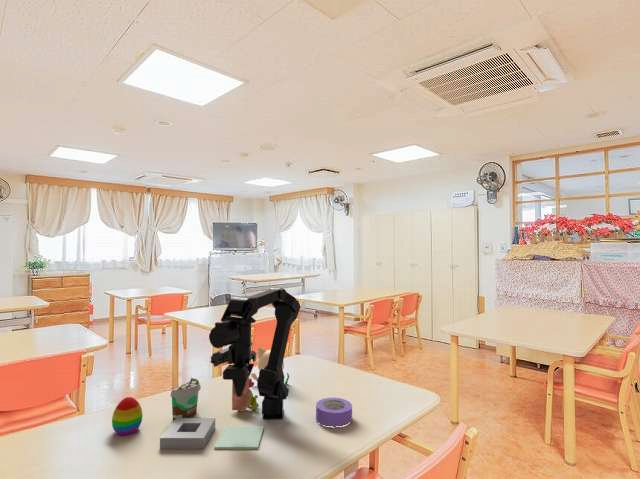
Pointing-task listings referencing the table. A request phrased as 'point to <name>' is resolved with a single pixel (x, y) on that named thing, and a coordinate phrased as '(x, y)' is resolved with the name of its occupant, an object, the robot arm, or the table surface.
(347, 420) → the tape roll
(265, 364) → the kitten
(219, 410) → the table surface
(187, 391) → the food container
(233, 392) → the peg
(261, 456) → the table surface
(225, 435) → the board
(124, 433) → the decorative egg
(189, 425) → the pocket block
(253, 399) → the bird rattle
